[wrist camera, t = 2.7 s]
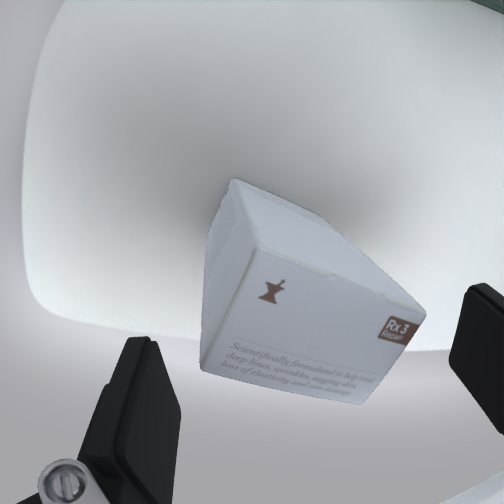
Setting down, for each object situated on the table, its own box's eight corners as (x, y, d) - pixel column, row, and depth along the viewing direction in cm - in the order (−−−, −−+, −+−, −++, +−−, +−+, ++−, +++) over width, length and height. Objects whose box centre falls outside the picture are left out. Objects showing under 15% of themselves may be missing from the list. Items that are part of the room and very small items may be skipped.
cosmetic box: (204, 239, 20) (184, 380, 9) (233, 171, 18) (246, 240, 7) (294, 273, 21) (357, 416, 10) (325, 211, 20) (434, 314, 9)
